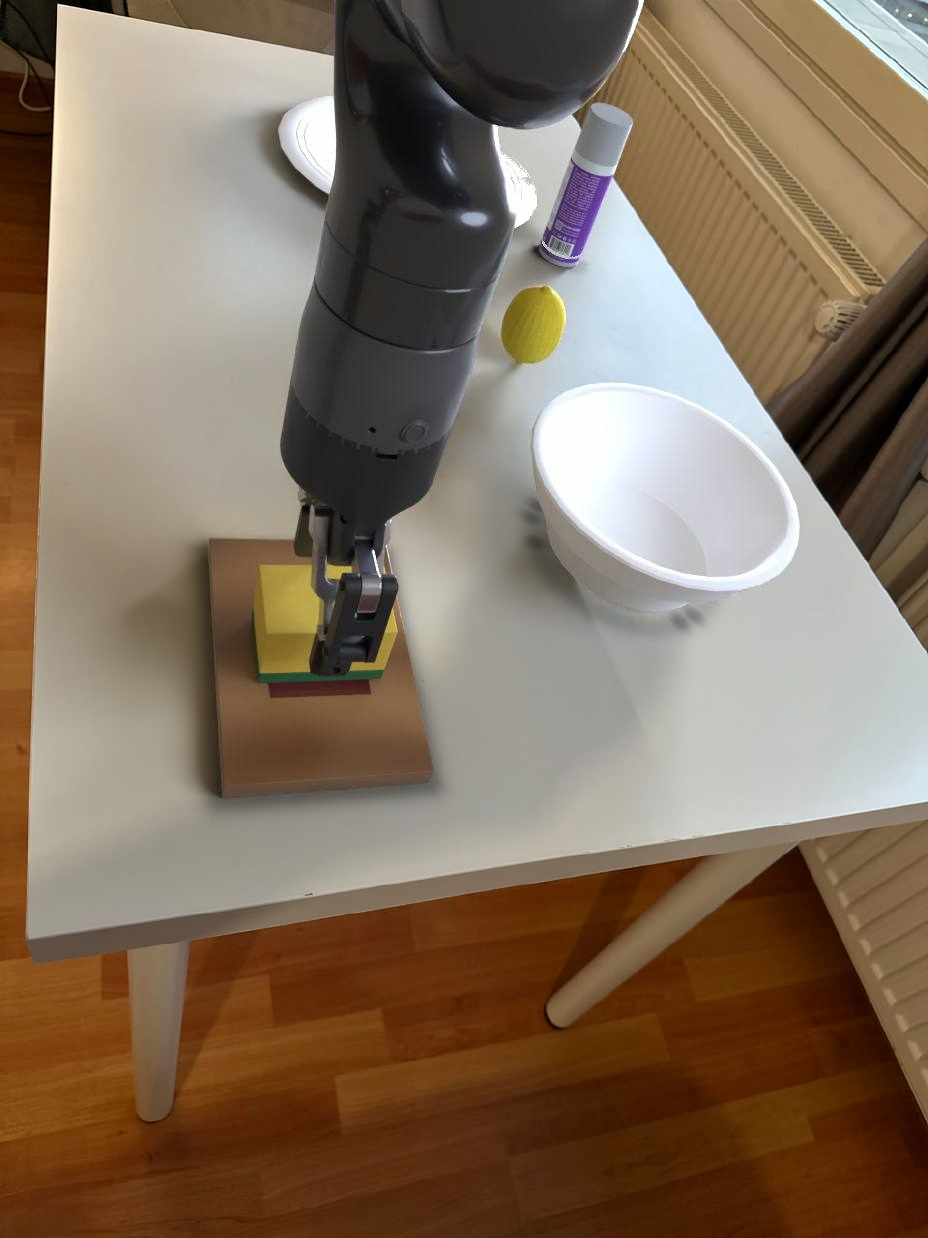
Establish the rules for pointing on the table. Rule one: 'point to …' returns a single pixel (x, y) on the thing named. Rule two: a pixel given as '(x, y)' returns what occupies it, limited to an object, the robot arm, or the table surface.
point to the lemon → (533, 324)
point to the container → (585, 183)
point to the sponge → (299, 626)
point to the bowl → (658, 498)
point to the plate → (314, 151)
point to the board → (304, 700)
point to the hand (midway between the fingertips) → (319, 608)
